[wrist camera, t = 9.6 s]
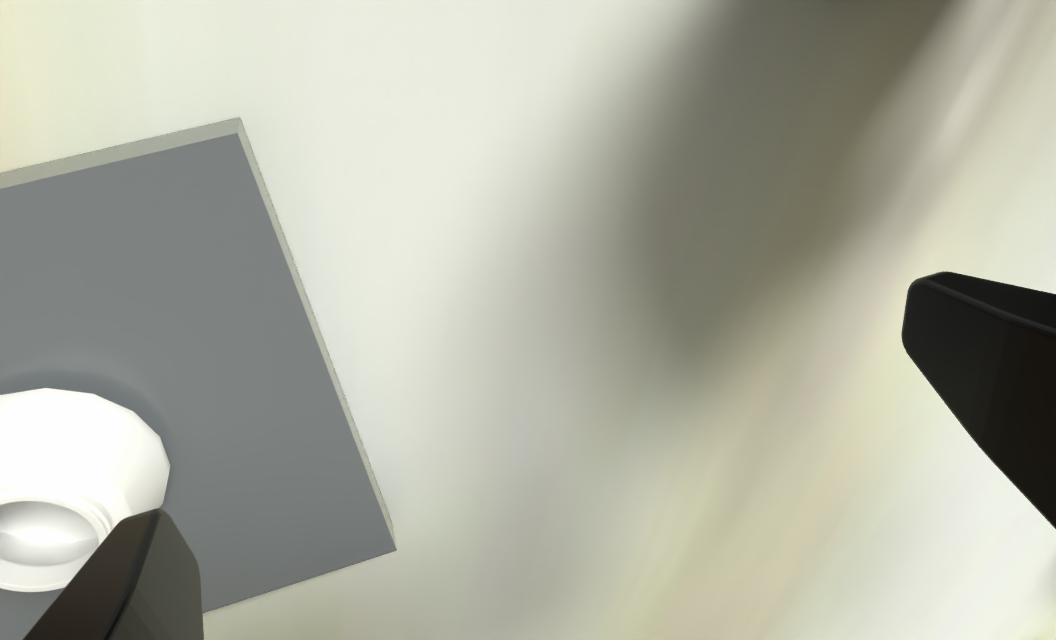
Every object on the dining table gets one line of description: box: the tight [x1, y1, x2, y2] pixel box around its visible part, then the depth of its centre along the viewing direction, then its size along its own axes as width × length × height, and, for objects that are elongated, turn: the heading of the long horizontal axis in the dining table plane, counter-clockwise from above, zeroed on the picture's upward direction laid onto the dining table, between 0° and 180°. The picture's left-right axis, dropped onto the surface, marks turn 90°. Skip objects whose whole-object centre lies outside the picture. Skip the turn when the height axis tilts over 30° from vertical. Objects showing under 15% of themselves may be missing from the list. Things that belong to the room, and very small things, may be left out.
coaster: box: [0, 117, 397, 640], centre depth 20 cm, size 14×14×1 cm
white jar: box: [0, 388, 170, 592], centre depth 18 cm, size 5×3×5 cm
